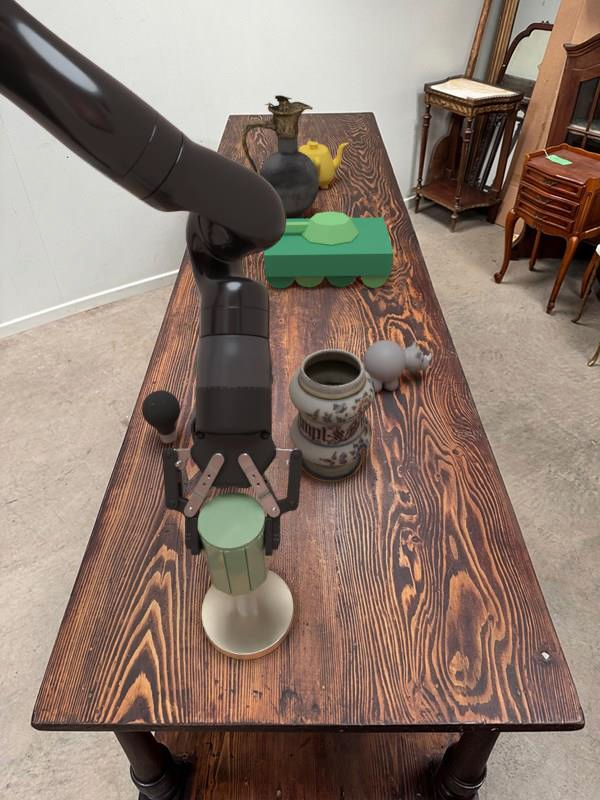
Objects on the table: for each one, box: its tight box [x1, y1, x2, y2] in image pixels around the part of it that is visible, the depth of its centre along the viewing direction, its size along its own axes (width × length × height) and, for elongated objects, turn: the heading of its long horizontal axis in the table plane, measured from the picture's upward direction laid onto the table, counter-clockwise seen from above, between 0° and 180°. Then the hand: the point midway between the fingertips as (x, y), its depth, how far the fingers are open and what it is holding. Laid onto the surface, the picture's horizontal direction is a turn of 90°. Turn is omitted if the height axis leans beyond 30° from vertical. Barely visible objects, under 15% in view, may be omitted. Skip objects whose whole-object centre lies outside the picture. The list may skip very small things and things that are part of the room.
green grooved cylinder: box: [197, 491, 271, 596], centre depth 55 cm, size 6×7×9 cm
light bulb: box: [141, 389, 181, 444], centre depth 83 cm, size 6×6×10 cm
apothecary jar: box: [288, 348, 376, 483], centre depth 77 cm, size 12×12×18 cm
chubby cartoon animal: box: [363, 339, 433, 393], centre depth 93 cm, size 7×12×8 cm, turn 96°
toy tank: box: [263, 210, 394, 289], centre depth 121 cm, size 18×12×35 cm
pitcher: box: [241, 94, 320, 219], centre depth 135 cm, size 11×19×30 cm, turn 95°
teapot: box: [298, 140, 349, 190], centre depth 158 cm, size 14×14×12 cm
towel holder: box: [200, 569, 295, 661], centre depth 60 cm, size 11×11×14 cm
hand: (233, 553), depth 53 cm, fingers closed on green grooved cylinder, 6 cm apart
